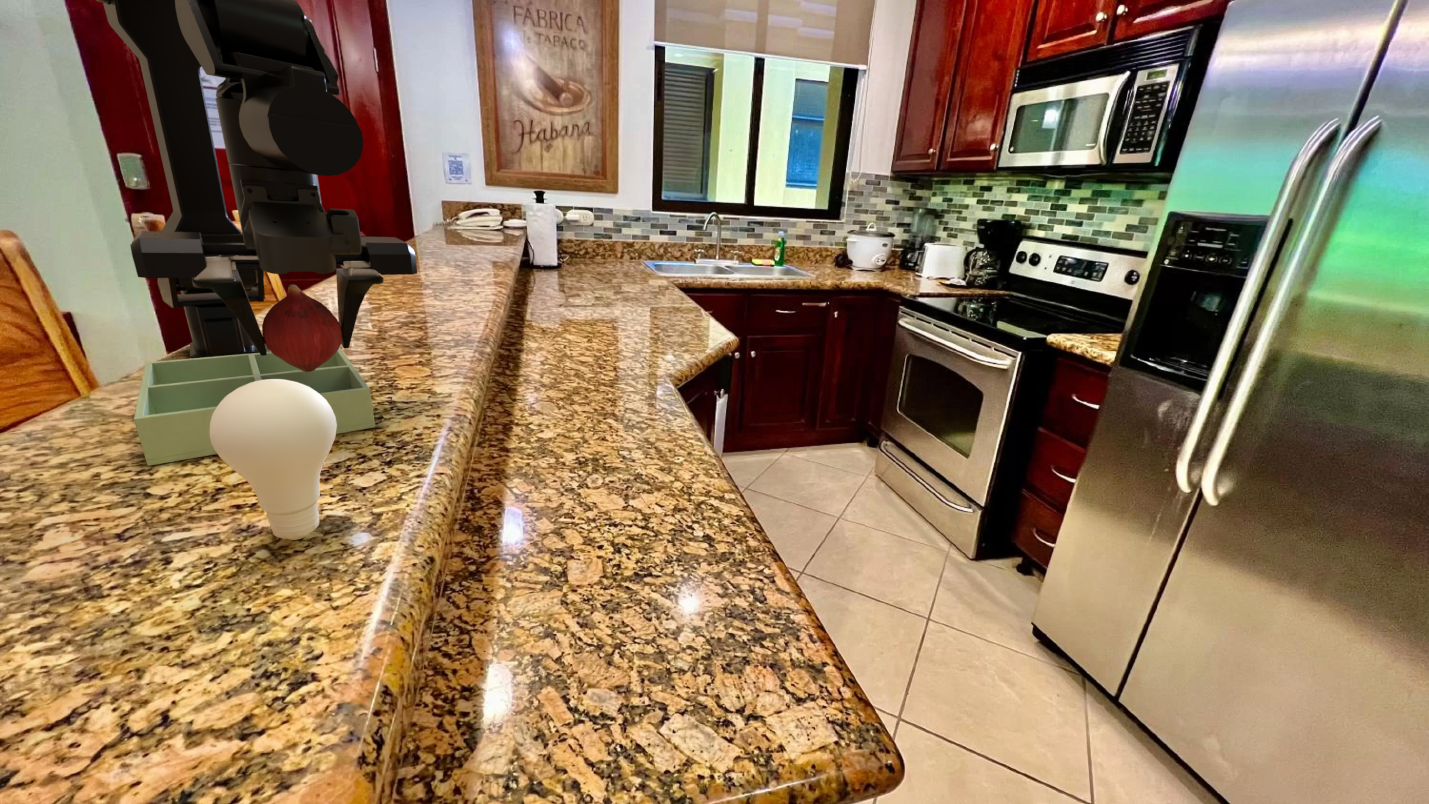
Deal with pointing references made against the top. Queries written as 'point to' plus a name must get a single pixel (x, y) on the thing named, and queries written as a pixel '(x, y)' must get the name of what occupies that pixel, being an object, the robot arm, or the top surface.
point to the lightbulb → (277, 448)
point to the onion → (301, 331)
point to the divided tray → (194, 388)
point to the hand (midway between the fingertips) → (305, 351)
